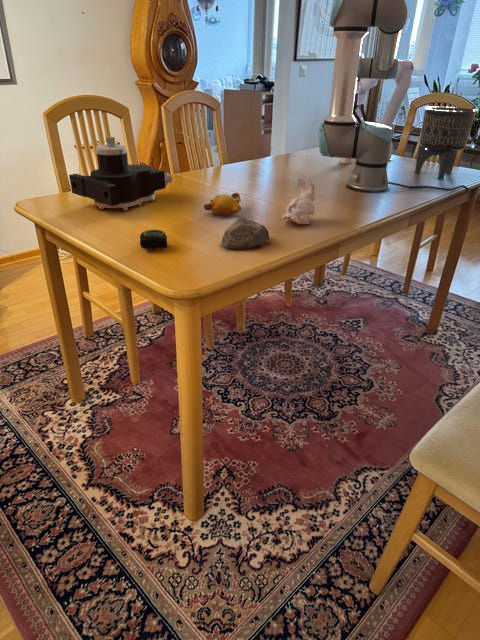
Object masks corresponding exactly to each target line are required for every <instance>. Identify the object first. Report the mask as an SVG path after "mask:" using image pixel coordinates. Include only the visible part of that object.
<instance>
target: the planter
mask: <svg viewBox="0 0 480 640" xmlns="http://www.w3.org/2000/svg"><path fill="white" fill-rule="evenodd" d="M423 112H424V113H423V119H422V126H421V130H420V131H421V132H420V137H419V145H418V146H419V147H418V150H417V151H418V152H417V158H416V163H415V170H414V173H417V174H420V173H421V170H422V169H423V165H424V164H425V162H426V161H428V159H429V158H430V157H433V156H437V155H438V158H439V168H438V174H437V179H438V180H444V179H445V175H451V174H452V172H453V169H454V165H455V161H456V158H457V155H458V151H463V150H464V149H465V148H466V146H467V143H468V140H469V138H470V134H471V131H472V127H473V123H474V120H475V117H476V113H477V110H476V109H473V108H467V107H466V108H465V107H454V106H427V107H425V108H424V111H423Z"/></svg>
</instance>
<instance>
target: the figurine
mask: <svg viewBox="0 0 480 640" xmlns="http://www.w3.org/2000/svg"><path fill="white" fill-rule="evenodd" d="M296 184H297V186H298V188H299V189H300V196H296V197H294V198H292V199H291V200H290V202H289V204H288V205H287V207H286V212H285V213H284V214H283V215H282V217H281V220H282V221H284V220H285V221H286V222H292V223H295V224H296V223H297V224H298V225H309V220H310V217H311V215H312V216H313V215H314V214H315V210H316V207H315V203H314V201H315V200H316V191H315V189H316V186H315V183H314V182H313V181H311V179H308V184H309V187H306V180H304V179H303V178H302V177H299V178H298V179H297V183H296Z"/></svg>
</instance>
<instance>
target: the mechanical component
mask: <svg viewBox="0 0 480 640" xmlns="http://www.w3.org/2000/svg"><path fill="white" fill-rule="evenodd" d="M105 142H106V144H101V145H97V146H96V147H95V152H96V158H97V159H96V160H97V165H98V168H96V169H93V170H91V171H90V172H89V174H90V175H83V174H79V173H72V174H68V177H69V184H70V189H71V193H72V194H74V195H77V196H80V197H83V198H88V199H91V200H93V201H94V205H95V206H98V208H99V210H104V209H105V208H107V209H122V211H128V210H129V207H133V206H142V203H143V202H147V201H151V202H154V201H155V198H156V192H157V191H160V190H164V189H166V187H168V184H171V183H172V182H173V176H172V175H171V173H168V172H167V173H166V172H165V170H162V169H157V168H154V167H153V166H151V165H148V164H129V160H128V159H129V158H128V147H127V146H126V145H124V144H118V143H117V144H116V138H115V136H106V137H105Z"/></svg>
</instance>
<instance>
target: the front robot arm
mask: <svg viewBox="0 0 480 640" xmlns="http://www.w3.org/2000/svg"><path fill="white" fill-rule="evenodd" d="M407 20H408V6H407V3H406V0H333V2H332V6H331V11H330V17H329V27H331V28H333V30H332V31H333V32H332V33H333V35H334V36H335V38H336V44H335V54H334V63H333V73H332V81H331V89H330V90H331V91H330V100H329V101H330V102H329V109H328V114H327V115H326V116H325V118H323V122H322V123H320V124H319V127H318V148H319V153H320V155H321V156H322V157H326V158H327V157H328V158H332V159H333V158H339V159H341V158H351V159H355V164H354V165H355V166H354V167H353V171H351V174H350V176H349V179H348V180H347V181H348V182H347V187H348V188H349V189H351V190H354V191H358V192H363V193H364V192H365V193H382V192H386V191H388V189H389V185H393V186H397V187H402V188H405V189H434V190H441V191H454V190H457V189H461V188H463V189H465V191H467V190H469V188H468V186H466V185H458V186H455V187H440V186H439V187H438V186H432V185H406V184H405V185H404V184H401V183H397V182H393V181H389V178H388V173H387V172H388V171H387V166H388V161H389V160H388V156H389V150H390V144H391V142H392V143H393V140H392V138H393V136H392V129H391V128H390V127H389V126H386V125H383V124H379V123H378V122H373V121H368V118H367V115H366V112H365V104H364V103H363V104H359V105H358V104H357V101H358V93H357V91H359V86H360V80H361V79H364V78H365V79H381V80H385V81H386V80H394V79H395V78H396V76H397V71H398V65H399V60H400V59H398V58H396V56H397V53H398V52H397V51H398V47H399V44H400V43H399V42H400V38H401V33H402V30H404V27H405V26H406V24H407ZM372 27H373V28H375V27H376V28H378V36H377V42H376V43H377V44H376V50H375V51H376V52H375V57H364V52H363V51H362V44H363V39H364V38H365V37H366V36H367V35H368V34H369V28H372ZM357 108H359V109H360V111H361V114H362V115H361V118H362V119H363V120H364V122H362V121H361V120H360V118H359V116H358V115H357V113H356V111H355V110H356V109H357ZM352 114H353V115H354V116H355V118H356V120H357V121H358V123H359V124H360V126H356V125H355V123H357V122H356V120H355V118H354V117H353V115H352Z"/></svg>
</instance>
